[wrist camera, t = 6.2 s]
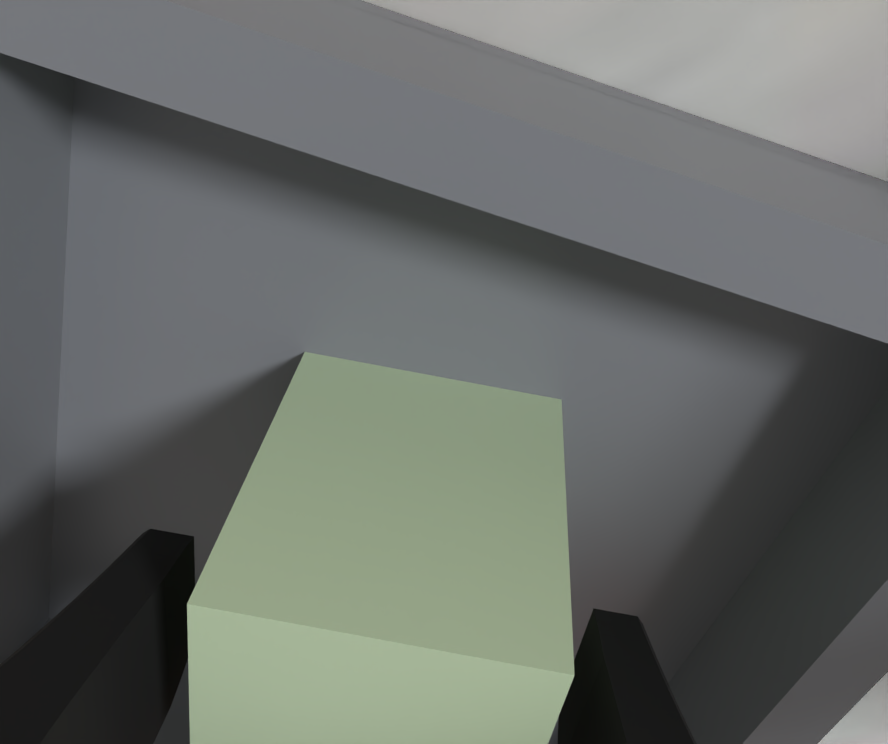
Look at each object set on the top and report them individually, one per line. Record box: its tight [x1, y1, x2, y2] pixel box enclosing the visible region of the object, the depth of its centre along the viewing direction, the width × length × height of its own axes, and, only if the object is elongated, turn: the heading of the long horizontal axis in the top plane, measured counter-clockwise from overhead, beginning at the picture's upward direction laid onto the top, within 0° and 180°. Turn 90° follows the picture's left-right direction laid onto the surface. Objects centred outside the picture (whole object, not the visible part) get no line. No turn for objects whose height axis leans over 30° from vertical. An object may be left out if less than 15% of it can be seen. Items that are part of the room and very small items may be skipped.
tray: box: [0, 0, 888, 744], centre depth 13 cm, size 14×14×3 cm
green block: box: [187, 352, 575, 744], centre depth 11 cm, size 4×4×5 cm
